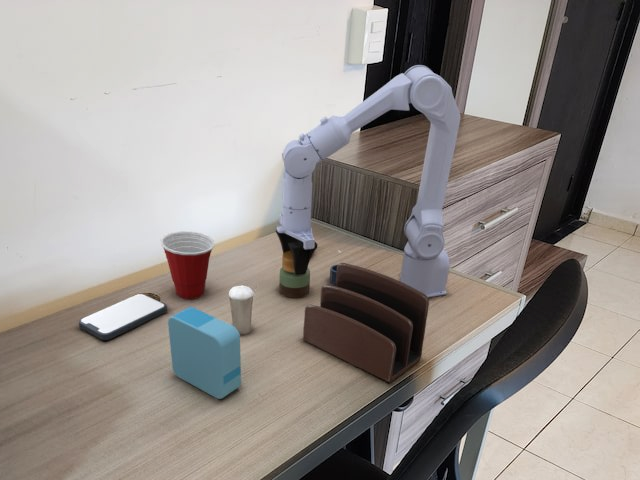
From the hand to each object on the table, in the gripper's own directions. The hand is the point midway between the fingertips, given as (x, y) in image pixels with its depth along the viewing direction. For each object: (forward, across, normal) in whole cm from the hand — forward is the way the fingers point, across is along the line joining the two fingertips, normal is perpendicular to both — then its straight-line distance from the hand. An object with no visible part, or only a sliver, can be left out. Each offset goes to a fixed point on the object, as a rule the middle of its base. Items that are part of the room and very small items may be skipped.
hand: (295, 267), depth 129 cm
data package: (+6, +26, -26) cm, 37 cm away
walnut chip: (+6, 0, 0) cm, 6 cm away
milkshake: (+6, +12, -15) cm, 20 cm away
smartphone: (+6, 0, -36) cm, 36 cm away
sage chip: (+3, 0, 0) cm, 3 cm away
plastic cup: (+6, -6, -21) cm, 23 cm away
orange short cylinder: (0, 0, 0) cm, 0 cm away
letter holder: (+6, +26, +3) cm, 26 cm away
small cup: (+6, -1, +11) cm, 12 cm away
